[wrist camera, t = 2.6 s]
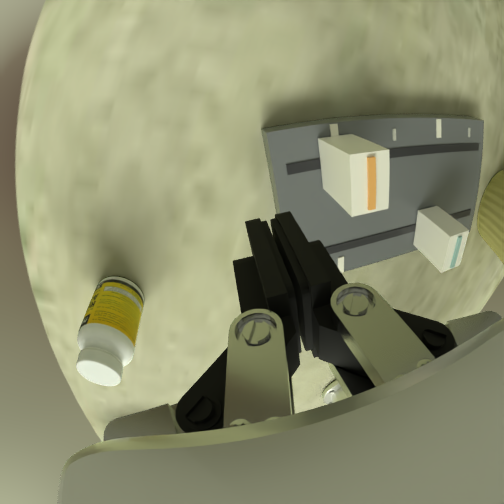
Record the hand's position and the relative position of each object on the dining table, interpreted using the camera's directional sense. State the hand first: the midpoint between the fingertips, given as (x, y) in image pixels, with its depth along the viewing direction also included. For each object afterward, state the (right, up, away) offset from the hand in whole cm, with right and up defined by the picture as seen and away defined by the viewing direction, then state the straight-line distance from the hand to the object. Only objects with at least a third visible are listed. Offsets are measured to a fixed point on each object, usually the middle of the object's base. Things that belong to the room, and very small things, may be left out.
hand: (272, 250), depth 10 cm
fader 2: (+17, +3, +13) cm, 22 cm away
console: (+13, +6, +13) cm, 19 cm away
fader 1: (+6, +7, +9) cm, 12 cm away
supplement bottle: (-14, -4, +16) cm, 22 cm away
